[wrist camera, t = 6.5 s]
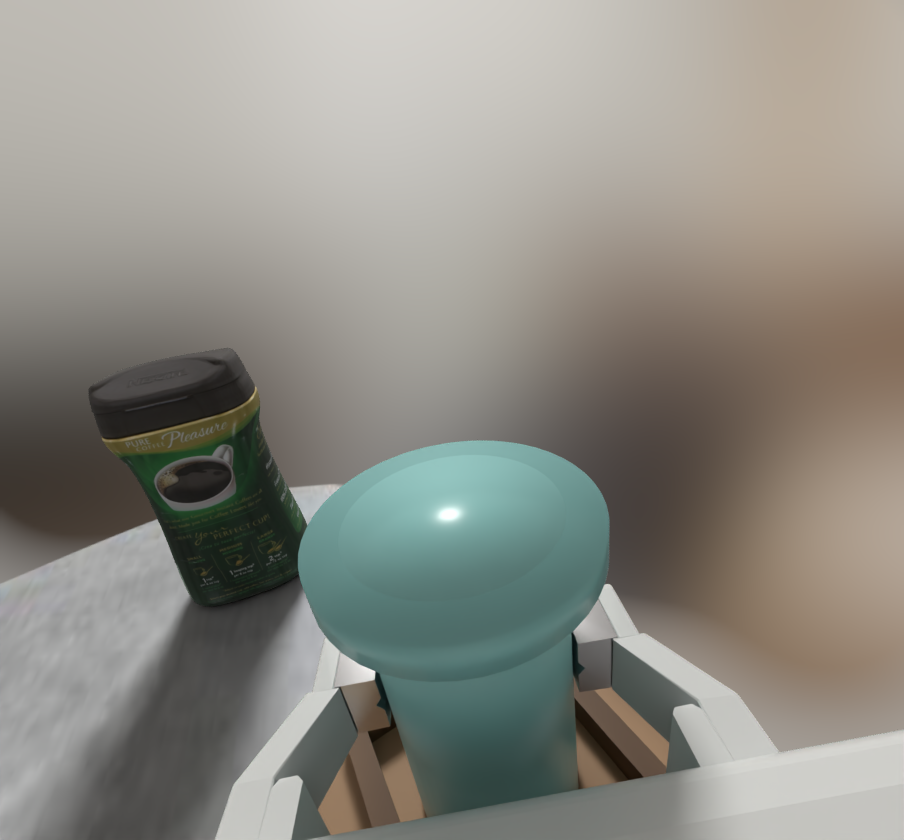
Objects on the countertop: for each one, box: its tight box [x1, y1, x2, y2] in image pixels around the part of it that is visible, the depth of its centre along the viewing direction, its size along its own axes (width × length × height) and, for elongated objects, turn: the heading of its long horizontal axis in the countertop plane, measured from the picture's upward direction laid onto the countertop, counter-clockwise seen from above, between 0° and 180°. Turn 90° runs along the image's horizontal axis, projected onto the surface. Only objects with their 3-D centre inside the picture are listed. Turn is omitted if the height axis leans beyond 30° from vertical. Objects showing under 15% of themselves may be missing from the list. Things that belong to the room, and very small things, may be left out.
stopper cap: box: [298, 441, 609, 817], centre depth 11 cm, size 6×6×10 cm
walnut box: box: [318, 676, 669, 835], centre depth 14 cm, size 12×10×9 cm
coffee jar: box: [89, 348, 307, 606], centre depth 32 cm, size 10×8×19 cm
